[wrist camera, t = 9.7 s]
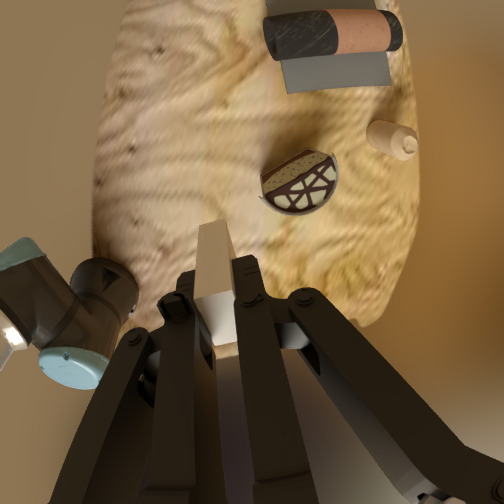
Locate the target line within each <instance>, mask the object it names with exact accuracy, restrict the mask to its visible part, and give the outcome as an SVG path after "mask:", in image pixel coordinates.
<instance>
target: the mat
mask: <svg viewBox="0 0 504 504" xmlns="http://www.w3.org/2000/svg"><path fill="white" fill-rule="evenodd" d="M266 4H267V8H268V12H269V16H275V15H281V14H288V13H295V12H303V11H312V10H323V9H368V10H376V6H375V2H374V0H266ZM280 62H281V66H282V71H283V76H284V81H285V85H286V90H287V94H290V93H298V92H305V91H313V90H322V89H332V88H344V87H359V86H386V85H391V79H390V72H389V66H388V60H387V55H386V51H383V52H361V53H348V54H337V55H326V56H314V57H305V58H296V59H289V60H281V61H280Z"/></svg>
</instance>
